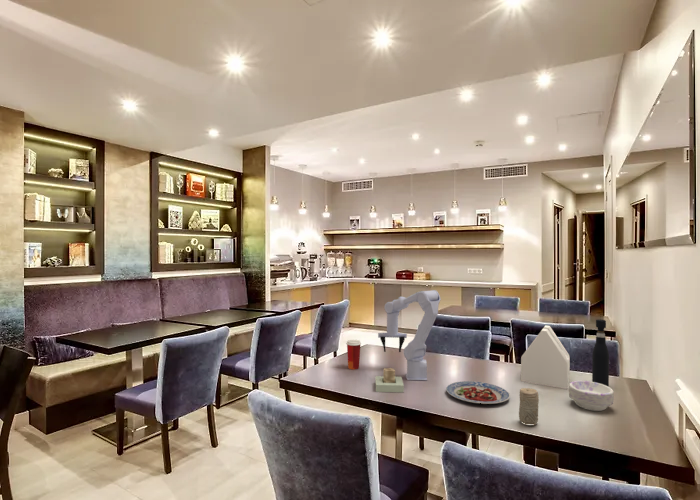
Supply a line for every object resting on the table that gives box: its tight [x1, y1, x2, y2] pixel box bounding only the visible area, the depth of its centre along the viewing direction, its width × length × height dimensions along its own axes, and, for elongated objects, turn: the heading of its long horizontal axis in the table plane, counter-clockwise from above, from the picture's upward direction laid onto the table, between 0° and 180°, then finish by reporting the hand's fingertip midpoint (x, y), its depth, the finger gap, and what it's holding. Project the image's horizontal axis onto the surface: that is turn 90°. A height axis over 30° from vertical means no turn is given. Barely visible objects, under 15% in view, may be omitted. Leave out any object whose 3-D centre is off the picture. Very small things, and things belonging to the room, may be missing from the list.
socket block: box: [374, 375, 405, 393], centre depth 178 cm, size 12×12×3 cm
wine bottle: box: [591, 319, 610, 387], centre depth 182 cm, size 6×6×30 cm
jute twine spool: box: [518, 387, 540, 425], centre depth 142 cm, size 6×8×12 cm
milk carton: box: [520, 325, 571, 390], centre depth 189 cm, size 19×15×25 cm
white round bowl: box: [568, 380, 615, 412], centre depth 158 cm, size 15×15×8 cm
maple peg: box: [382, 367, 396, 383], centre depth 178 cm, size 4×4×8 cm
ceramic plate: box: [445, 380, 511, 405], centre depth 169 cm, size 26×26×3 cm
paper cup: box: [345, 339, 362, 371], centre depth 207 cm, size 8×8×14 cm
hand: (392, 351), depth 204 cm, fingers open, 7 cm apart
